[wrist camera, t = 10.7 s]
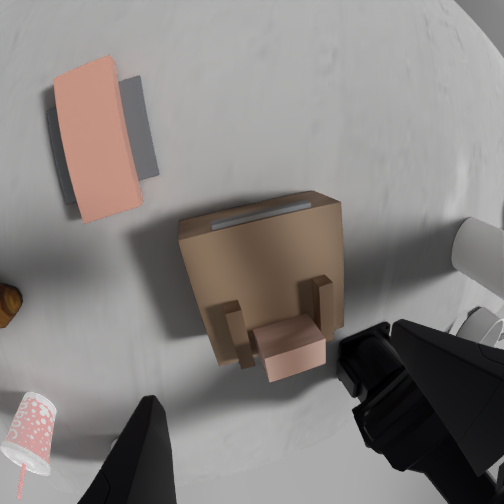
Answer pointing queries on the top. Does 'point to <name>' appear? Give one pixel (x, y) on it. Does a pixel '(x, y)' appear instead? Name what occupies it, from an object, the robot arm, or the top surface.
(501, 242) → the cylindrical container
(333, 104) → the top surface
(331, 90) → the top surface
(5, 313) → the croissant
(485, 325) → the saucepan
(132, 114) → the pad
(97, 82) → the salmon pink rectangular block
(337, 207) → the dispenser
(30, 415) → the beverage cup
